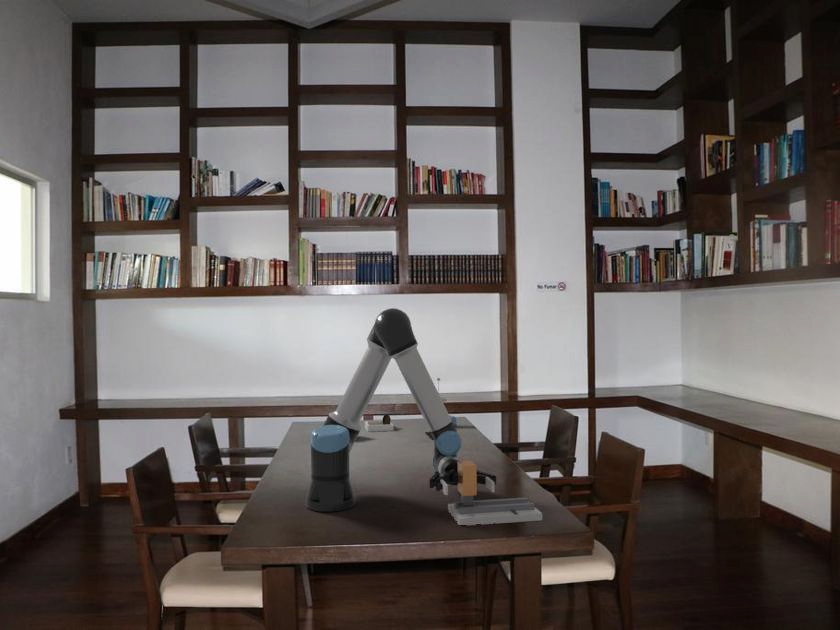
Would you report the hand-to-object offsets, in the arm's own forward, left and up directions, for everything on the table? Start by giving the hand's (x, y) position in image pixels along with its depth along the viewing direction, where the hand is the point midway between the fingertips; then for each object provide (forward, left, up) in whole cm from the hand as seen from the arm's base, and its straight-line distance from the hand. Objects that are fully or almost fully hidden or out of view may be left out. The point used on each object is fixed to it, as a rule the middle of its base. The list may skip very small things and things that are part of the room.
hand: (470, 488), depth 182 cm
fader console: (+8, +3, -9) cm, 12 cm away
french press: (+22, +148, -9) cm, 150 cm away
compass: (-6, +147, -9) cm, 147 cm away
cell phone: (+17, +123, -10) cm, 125 cm away
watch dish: (-8, +148, -9) cm, 149 cm away
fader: (0, +3, -7) cm, 7 cm away
